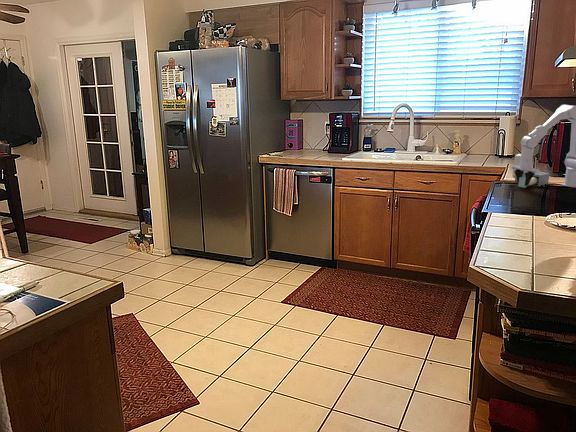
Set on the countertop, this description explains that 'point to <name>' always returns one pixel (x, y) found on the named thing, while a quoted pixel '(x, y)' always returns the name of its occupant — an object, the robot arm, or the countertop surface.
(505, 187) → the countertop surface
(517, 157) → the supplement box
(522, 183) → the cartridge
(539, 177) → the housing
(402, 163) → the countertop surface
